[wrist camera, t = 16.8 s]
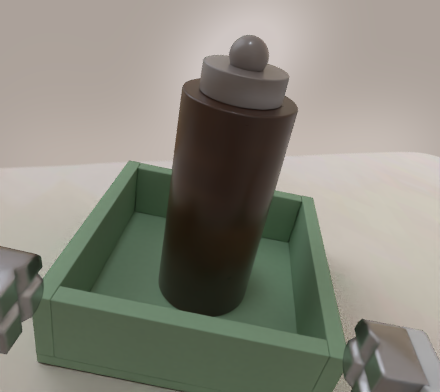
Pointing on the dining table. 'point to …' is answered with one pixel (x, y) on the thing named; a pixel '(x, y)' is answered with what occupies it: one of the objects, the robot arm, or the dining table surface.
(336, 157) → the dining table surface
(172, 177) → the pepper mill
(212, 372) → the tray
